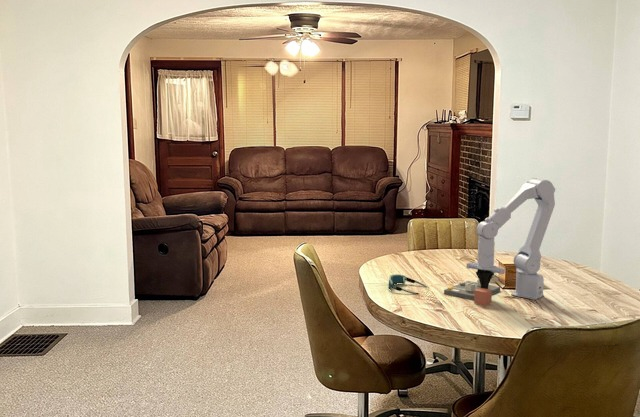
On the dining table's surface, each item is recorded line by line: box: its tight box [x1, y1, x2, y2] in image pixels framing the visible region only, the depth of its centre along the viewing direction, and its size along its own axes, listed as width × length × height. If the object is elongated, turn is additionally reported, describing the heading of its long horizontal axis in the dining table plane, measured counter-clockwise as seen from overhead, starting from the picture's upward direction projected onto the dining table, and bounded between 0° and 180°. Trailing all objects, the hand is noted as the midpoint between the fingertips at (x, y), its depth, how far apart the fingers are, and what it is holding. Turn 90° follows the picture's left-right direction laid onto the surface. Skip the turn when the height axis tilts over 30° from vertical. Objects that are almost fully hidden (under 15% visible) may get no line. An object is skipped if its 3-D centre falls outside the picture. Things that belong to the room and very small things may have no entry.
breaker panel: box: [443, 280, 501, 301], centre depth 234 cm, size 14×18×2 cm
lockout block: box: [473, 288, 492, 307], centre depth 220 cm, size 4×4×5 cm
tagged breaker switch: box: [465, 281, 475, 291], centre depth 231 cm, size 2×3×3 cm
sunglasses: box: [387, 273, 430, 295], centre depth 240 cm, size 14×15×5 cm
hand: (484, 289), depth 227 cm, fingers closed
